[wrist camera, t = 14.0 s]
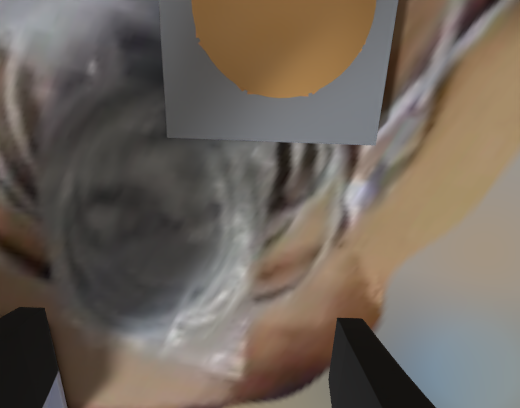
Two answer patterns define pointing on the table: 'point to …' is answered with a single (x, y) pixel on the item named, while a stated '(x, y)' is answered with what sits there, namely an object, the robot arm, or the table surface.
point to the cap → (282, 41)
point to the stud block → (268, 108)
